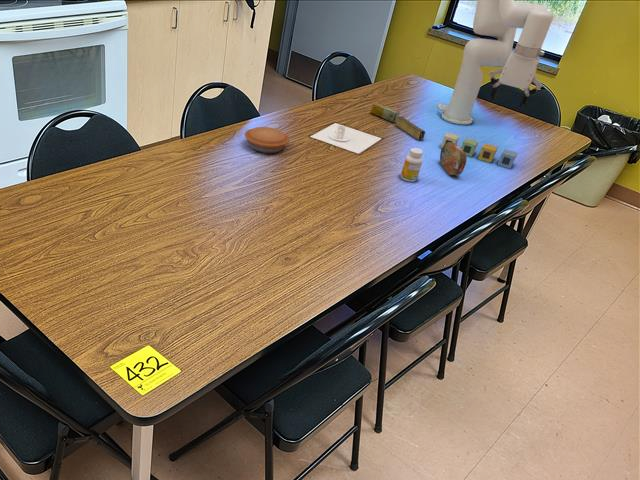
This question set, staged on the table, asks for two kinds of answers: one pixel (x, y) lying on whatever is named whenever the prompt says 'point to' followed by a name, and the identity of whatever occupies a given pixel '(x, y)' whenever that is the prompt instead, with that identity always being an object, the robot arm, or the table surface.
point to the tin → (453, 158)
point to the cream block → (450, 139)
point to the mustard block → (487, 152)
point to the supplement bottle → (412, 165)
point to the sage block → (469, 146)
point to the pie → (266, 139)
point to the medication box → (385, 112)
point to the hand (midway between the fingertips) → (506, 102)
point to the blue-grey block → (507, 158)
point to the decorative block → (410, 128)
